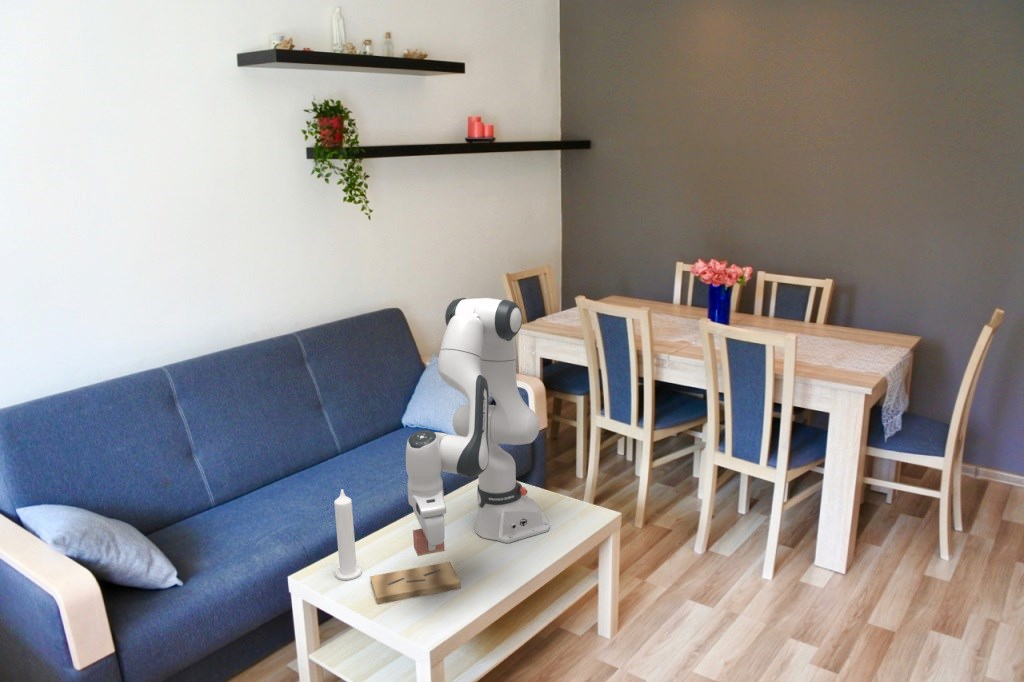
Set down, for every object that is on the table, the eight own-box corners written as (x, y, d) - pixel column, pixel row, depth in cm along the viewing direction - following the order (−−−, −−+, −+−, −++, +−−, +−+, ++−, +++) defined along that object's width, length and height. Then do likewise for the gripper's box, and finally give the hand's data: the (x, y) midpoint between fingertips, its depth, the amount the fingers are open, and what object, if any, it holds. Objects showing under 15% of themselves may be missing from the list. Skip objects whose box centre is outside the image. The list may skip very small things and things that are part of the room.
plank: (450, 567, 223) (450, 561, 223) (460, 587, 213) (460, 581, 213) (370, 582, 217) (370, 576, 216) (377, 604, 207) (376, 597, 206)
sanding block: (440, 542, 212) (439, 525, 211) (444, 550, 208) (443, 533, 206) (414, 547, 210) (412, 530, 208) (417, 556, 206) (416, 538, 204)
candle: (357, 564, 226) (350, 481, 220) (365, 576, 220) (359, 491, 214) (332, 571, 223) (325, 487, 216) (339, 583, 217) (332, 497, 210)
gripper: (405, 479, 213) (408, 526, 217) (422, 515, 194) (425, 566, 198) (428, 475, 215) (431, 522, 219) (447, 510, 196) (450, 560, 200)
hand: (429, 543), depth 208 cm, fingers closed on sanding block, 4 cm apart
